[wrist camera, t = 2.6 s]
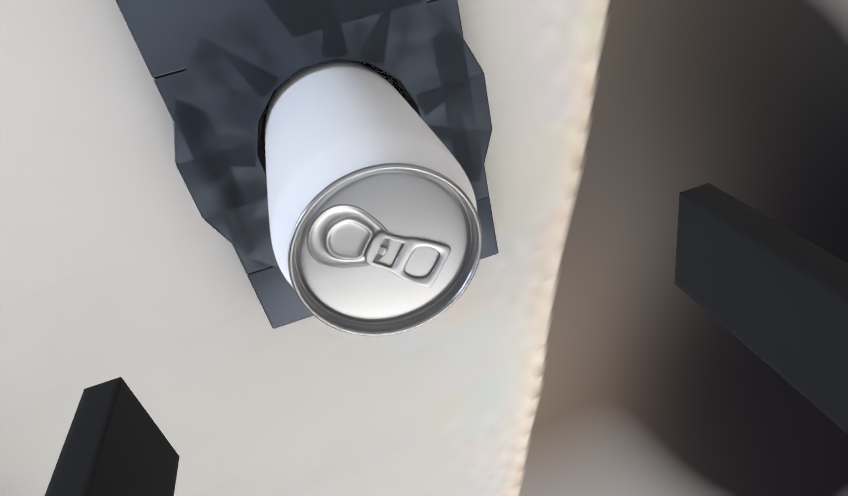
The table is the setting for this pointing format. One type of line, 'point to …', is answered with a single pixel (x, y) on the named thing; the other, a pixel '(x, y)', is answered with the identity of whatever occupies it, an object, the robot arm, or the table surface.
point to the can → (365, 202)
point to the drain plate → (268, 69)
